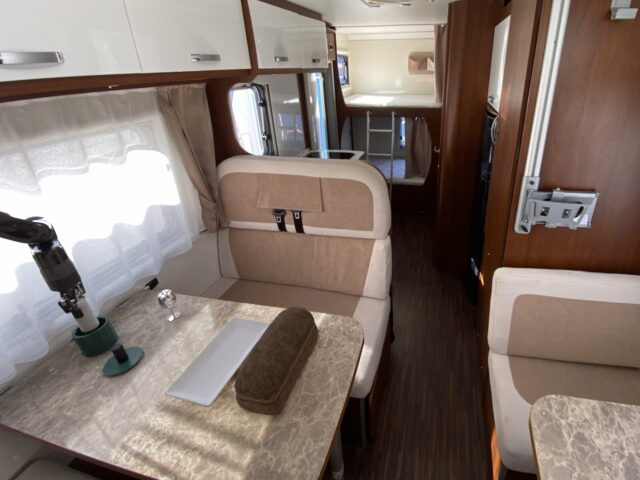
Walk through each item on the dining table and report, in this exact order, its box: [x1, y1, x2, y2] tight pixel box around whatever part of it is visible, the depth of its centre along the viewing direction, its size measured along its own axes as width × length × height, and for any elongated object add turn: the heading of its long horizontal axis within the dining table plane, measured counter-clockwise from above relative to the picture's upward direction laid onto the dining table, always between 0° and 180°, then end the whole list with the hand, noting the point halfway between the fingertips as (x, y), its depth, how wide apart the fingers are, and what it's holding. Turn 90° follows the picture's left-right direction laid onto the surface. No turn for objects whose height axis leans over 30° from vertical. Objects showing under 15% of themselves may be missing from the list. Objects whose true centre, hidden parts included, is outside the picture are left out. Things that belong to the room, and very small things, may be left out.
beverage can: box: [70, 297, 99, 332], centre depth 107 cm, size 5×5×12 cm
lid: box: [102, 342, 144, 377], centre depth 104 cm, size 11×11×8 cm
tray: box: [164, 316, 271, 408], centre depth 103 cm, size 17×32×4 cm, turn 166°
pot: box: [70, 315, 119, 358], centre depth 110 cm, size 10×10×10 cm
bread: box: [233, 306, 319, 416], centre depth 98 cm, size 15×32×16 cm, turn 168°
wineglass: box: [157, 288, 181, 321], centre depth 122 cm, size 6×6×12 cm
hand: (82, 312), depth 106 cm, fingers closed on beverage can, 5 cm apart
